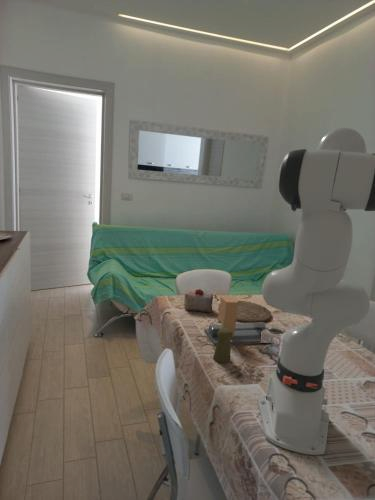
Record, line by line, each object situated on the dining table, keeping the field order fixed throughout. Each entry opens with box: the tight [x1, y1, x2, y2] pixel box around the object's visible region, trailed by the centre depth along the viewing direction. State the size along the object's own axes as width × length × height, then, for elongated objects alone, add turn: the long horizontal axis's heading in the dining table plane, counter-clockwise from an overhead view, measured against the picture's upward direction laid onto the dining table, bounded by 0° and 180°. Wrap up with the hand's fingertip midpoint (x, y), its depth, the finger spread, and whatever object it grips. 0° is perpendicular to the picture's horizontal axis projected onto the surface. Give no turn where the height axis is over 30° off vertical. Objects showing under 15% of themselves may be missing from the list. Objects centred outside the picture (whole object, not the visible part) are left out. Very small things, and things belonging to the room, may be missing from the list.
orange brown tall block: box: [217, 296, 239, 337], centre depth 134 cm, size 5×6×14 cm
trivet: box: [217, 299, 272, 323], centre depth 164 cm, size 25×25×2 cm
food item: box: [183, 288, 214, 314], centre depth 162 cm, size 14×8×10 cm, turn 86°
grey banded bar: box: [208, 322, 268, 338], centre depth 136 cm, size 23×4×5 cm, turn 105°
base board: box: [203, 328, 261, 346], centre depth 137 cm, size 24×12×1 cm, turn 105°
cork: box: [212, 328, 233, 365], centre depth 118 cm, size 6×6×11 cm
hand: (321, 260), depth 116 cm, fingers closed
